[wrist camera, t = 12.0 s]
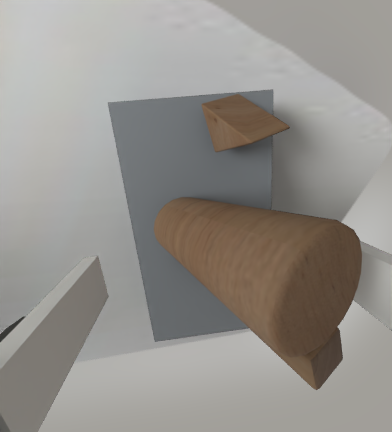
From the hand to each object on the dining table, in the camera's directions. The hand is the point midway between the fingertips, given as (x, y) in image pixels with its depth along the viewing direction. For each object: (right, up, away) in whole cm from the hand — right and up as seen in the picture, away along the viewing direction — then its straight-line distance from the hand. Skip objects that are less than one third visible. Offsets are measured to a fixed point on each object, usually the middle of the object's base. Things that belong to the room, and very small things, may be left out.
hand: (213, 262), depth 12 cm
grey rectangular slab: (-1, +2, +8) cm, 8 cm away
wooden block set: (+1, +1, +4) cm, 5 cm away
